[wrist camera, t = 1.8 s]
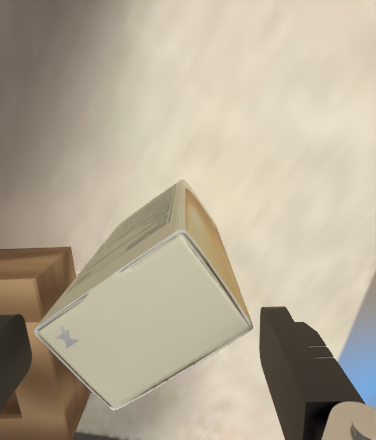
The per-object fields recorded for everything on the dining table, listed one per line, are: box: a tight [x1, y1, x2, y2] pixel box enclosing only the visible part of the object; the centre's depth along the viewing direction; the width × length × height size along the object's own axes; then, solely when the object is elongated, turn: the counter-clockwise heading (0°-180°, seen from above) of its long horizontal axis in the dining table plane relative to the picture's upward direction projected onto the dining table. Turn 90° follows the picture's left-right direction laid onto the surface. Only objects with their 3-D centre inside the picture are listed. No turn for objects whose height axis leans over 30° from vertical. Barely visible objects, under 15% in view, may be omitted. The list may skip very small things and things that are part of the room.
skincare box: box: [34, 180, 253, 410], centre depth 15 cm, size 6×4×12 cm
